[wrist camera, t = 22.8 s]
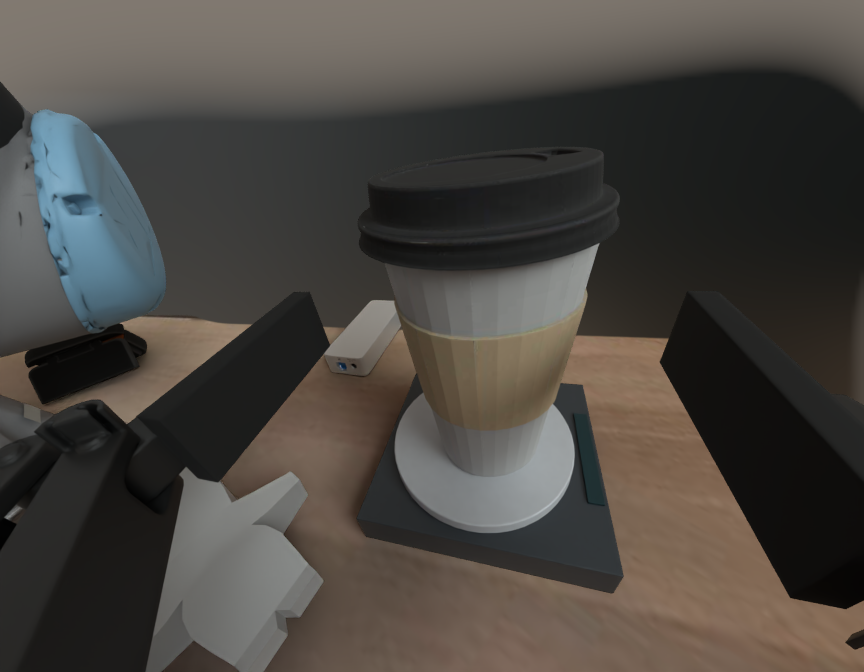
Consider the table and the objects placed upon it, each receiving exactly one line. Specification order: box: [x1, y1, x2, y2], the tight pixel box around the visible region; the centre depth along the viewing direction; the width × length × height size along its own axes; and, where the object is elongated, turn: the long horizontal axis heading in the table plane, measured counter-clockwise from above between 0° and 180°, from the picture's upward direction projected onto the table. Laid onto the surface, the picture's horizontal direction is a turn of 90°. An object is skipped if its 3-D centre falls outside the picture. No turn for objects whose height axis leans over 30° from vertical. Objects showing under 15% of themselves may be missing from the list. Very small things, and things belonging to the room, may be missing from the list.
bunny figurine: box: [146, 467, 324, 672], centre depth 17 cm, size 10×5×15 cm
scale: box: [357, 373, 623, 593], centre depth 20 cm, size 13×12×3 cm
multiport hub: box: [324, 300, 401, 376], centre depth 34 cm, size 4×11×2 cm, turn 163°
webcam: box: [25, 323, 147, 404], centre depth 35 cm, size 9×6×6 cm
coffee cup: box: [358, 147, 619, 477], centre depth 15 cm, size 9×9×15 cm
